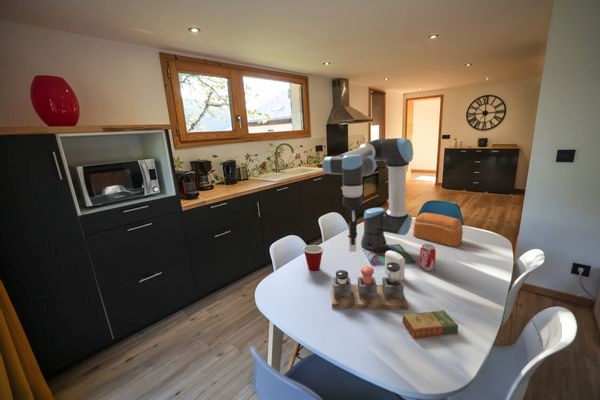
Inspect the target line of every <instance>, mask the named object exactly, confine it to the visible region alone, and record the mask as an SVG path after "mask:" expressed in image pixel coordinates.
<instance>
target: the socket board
mask: <svg viewBox="0 0 600 400" xmlns="http://www.w3.org/2000/svg"><path fill="white" fill-rule="evenodd" d="M404 288H405V287H404V285H403V283H402V280H400V278H399V277H398V285H388V276H383V277H382V281H381V284H377V282H376V278H375V276H372V285H362V276H357V284H351V277H350V276H348V278H347V285H346V284H337V277H336V276H333V283H331V308H332V309H370V310H372V309H374V310H375V309H376V310H407V311H408V310H409V304H408V302H407V299H406V297H405V294H404Z"/></svg>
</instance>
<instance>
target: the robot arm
mask: <svg viewBox="0 0 600 400" xmlns="http://www.w3.org/2000/svg"><path fill="white" fill-rule="evenodd" d="M413 158H414V147H413V143H412V141H411V139H409V138H401V137H395V138H394V137H393V138H377V139H374V140H370V141H367V142H365V143H362V144H361V145H360V146H359V147H358V148H355V149H352V150H349V151H347V152H344V153H342V154H339V155H336V156H332V155H331V156H326V157H324V159H323V161H322V163H321V164H322V170H323V172H324V173H325V174H330V175H341V176H342V186H341V187H340V189H341V190H342V205H343V206H345V207H347V210H346V213H347V219H348V235H347V238H348V239H349V240H348V247H349V249H348V250H349V252H351V253H352V252H357V237H358V232H357V231H358V229H357V224H358V215H359V211H358V210H359V209H358V208H357V207H361V206H362V205H363V193H364V192H363V189H364V188H363V187H364V185H363V177H366V176H370V175H371V174H372V173H374V172H375V170H376V169H377V161H378V162H384V163H385V164H384V165H385V166H386V167H387V169H388V170H387V171H388V209H387V210H385V208H383V207H372V208H368V209H366V210H364V214H363V235H362V237H361V240H360V245H361V247H363V248H364V249H365V250H368V251H380V250H381V251H382V250H384V249H385V248H386V249H387V239H386V237H385V233H388V234H394V235H399V236H406V235H407V234H409V232H410V230H411V225H412V223H413V222H412V221H413V220H412V219H413V216H412V215H411V214H410V215H409V211H408V209H407V208H406V189H407V188H406V181H407V180H406V179H407V178H406V174H407V171H406V170H407V167H408V166H409V164H410V162H412V161H413Z"/></svg>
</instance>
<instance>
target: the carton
mask: <svg viewBox="0 0 600 400" xmlns="http://www.w3.org/2000/svg"><path fill="white" fill-rule="evenodd" d="M402 324H403V326H404V327H405V329H406V330H407V332H408V333H409V335H410V336H411V338H412V339H413V340H417V339H425V338H437V337H443V336H453V335H458V333H459V324H458V323H457V322H456V321H455V320H454V319H453V318H452V317H451V315H449V314H448V313H447V312H446V310H444V309H442V310H435V311H434V310H433V311H426V312H425V311H424V312H417V313H415V312H414V313H407V314H403V316H402Z"/></svg>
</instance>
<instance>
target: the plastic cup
mask: <svg viewBox="0 0 600 400" xmlns="http://www.w3.org/2000/svg"><path fill="white" fill-rule="evenodd" d="M302 251H303V252H304V256H305V260H306V264H307V269H308V270H310V272H311V273H315V272H319V270H320V268H321V263H322V256H323V252H324V251H325V248H324V247H323V246H321V245H317V244H310V245H309V244H308V245H305V246H304V247H302Z"/></svg>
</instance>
